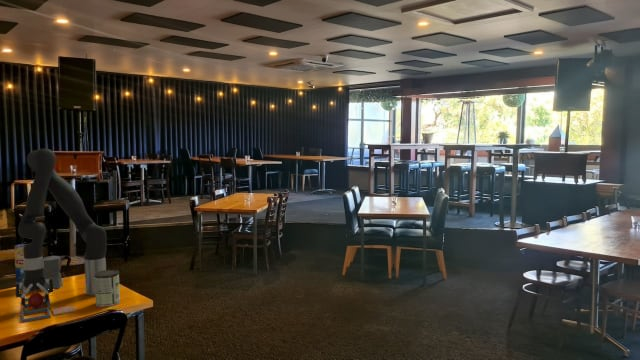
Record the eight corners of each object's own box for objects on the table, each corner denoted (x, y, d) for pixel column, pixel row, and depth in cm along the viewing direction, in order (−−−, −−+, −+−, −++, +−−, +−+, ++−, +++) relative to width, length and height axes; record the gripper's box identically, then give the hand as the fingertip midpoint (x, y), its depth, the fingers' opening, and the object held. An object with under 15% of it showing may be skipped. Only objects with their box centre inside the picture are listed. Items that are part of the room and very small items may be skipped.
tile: (72, 306, 212) (72, 305, 212) (75, 311, 205) (74, 310, 205) (52, 310, 207) (52, 308, 207) (53, 315, 201) (53, 314, 200)
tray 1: (48, 297, 225) (48, 294, 225) (49, 303, 217) (49, 300, 217) (23, 301, 220) (23, 298, 220) (24, 307, 211) (23, 304, 211)
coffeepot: (37, 291, 234) (35, 255, 233) (38, 286, 243) (36, 252, 241) (72, 287, 241) (70, 252, 240) (72, 282, 250) (70, 248, 248)
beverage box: (42, 288, 240) (40, 245, 238) (16, 291, 235) (14, 247, 233) (42, 285, 246) (40, 242, 244) (17, 288, 240) (14, 245, 239)
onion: (32, 307, 212) (31, 289, 211) (46, 306, 212) (45, 289, 212) (25, 311, 206) (24, 293, 205) (39, 311, 206) (38, 292, 206)
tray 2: (48, 303, 216) (48, 301, 216) (50, 310, 208) (50, 307, 208) (22, 308, 211) (22, 305, 210) (23, 314, 202) (23, 311, 202)
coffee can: (96, 300, 220) (95, 270, 219) (121, 298, 223) (119, 268, 222) (93, 308, 210) (92, 276, 209) (119, 305, 213) (118, 274, 212)
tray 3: (48, 310, 207) (48, 308, 207) (50, 317, 198) (50, 314, 198) (21, 315, 201) (21, 312, 201) (22, 322, 193) (22, 319, 193)
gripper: (51, 263, 215) (53, 298, 216) (14, 267, 207) (15, 304, 208) (53, 266, 209) (54, 303, 210) (14, 271, 201) (16, 309, 202)
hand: (35, 303), depth 209 cm, fingers open, 8 cm apart
